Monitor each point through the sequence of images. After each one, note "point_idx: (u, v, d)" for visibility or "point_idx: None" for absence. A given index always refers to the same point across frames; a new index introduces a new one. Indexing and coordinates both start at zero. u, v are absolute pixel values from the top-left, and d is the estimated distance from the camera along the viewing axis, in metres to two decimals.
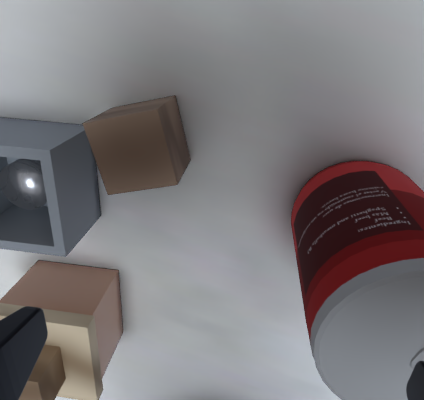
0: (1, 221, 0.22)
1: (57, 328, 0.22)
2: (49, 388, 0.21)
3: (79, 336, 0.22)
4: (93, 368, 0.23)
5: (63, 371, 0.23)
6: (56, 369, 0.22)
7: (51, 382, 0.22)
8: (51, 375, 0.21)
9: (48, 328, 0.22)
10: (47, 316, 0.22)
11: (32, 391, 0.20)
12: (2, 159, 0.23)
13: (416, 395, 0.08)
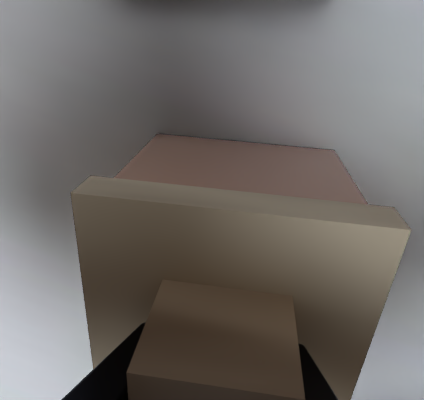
0: None
1: (306, 236, 0.07)
2: None
3: (369, 261, 0.07)
4: (364, 356, 0.09)
5: None
6: None
7: None
8: None
9: (278, 237, 0.07)
10: (269, 205, 0.08)
11: None
12: None
13: None
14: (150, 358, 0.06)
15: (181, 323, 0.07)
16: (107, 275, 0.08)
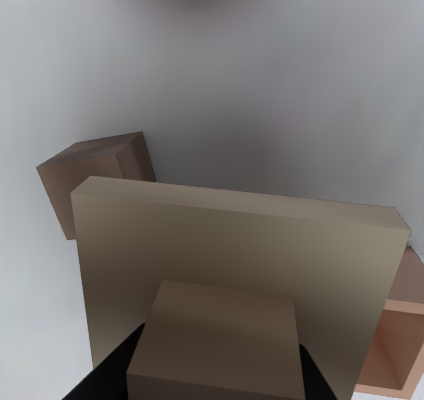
0: None
1: (306, 237, 0.07)
2: None
3: (370, 261, 0.07)
4: (364, 356, 0.09)
5: None
6: None
7: None
8: None
9: (278, 237, 0.07)
10: (269, 205, 0.08)
11: None
12: None
13: None
14: (150, 358, 0.06)
15: (182, 324, 0.07)
16: (107, 275, 0.08)
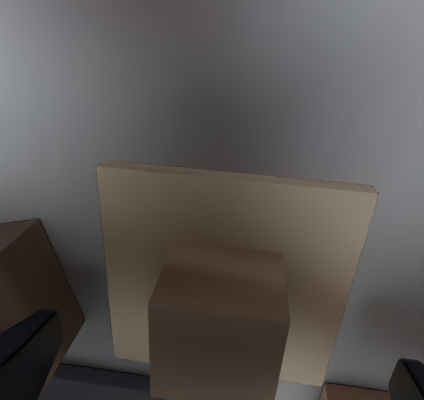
0: None
1: (293, 201, 0.09)
2: None
3: (345, 221, 0.09)
4: (344, 306, 0.10)
5: None
6: None
7: None
8: None
9: (269, 202, 0.09)
10: (262, 175, 0.09)
11: (262, 350, 0.08)
12: None
13: (397, 392, 0.08)
14: (166, 295, 0.08)
15: (190, 272, 0.09)
16: (125, 238, 0.10)
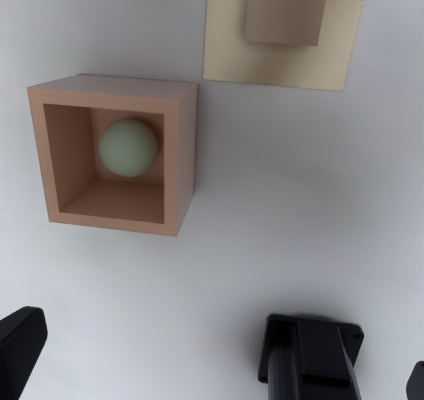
0: None
1: (342, 47, 0.17)
2: None
3: (328, 77, 0.17)
4: (269, 84, 0.18)
5: (265, 41, 0.17)
6: None
7: None
8: None
9: (344, 34, 0.16)
10: (354, 29, 0.17)
11: (297, 32, 0.14)
12: None
13: (416, 395, 0.08)
14: None
15: None
16: None
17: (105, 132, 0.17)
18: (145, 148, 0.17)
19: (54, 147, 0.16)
